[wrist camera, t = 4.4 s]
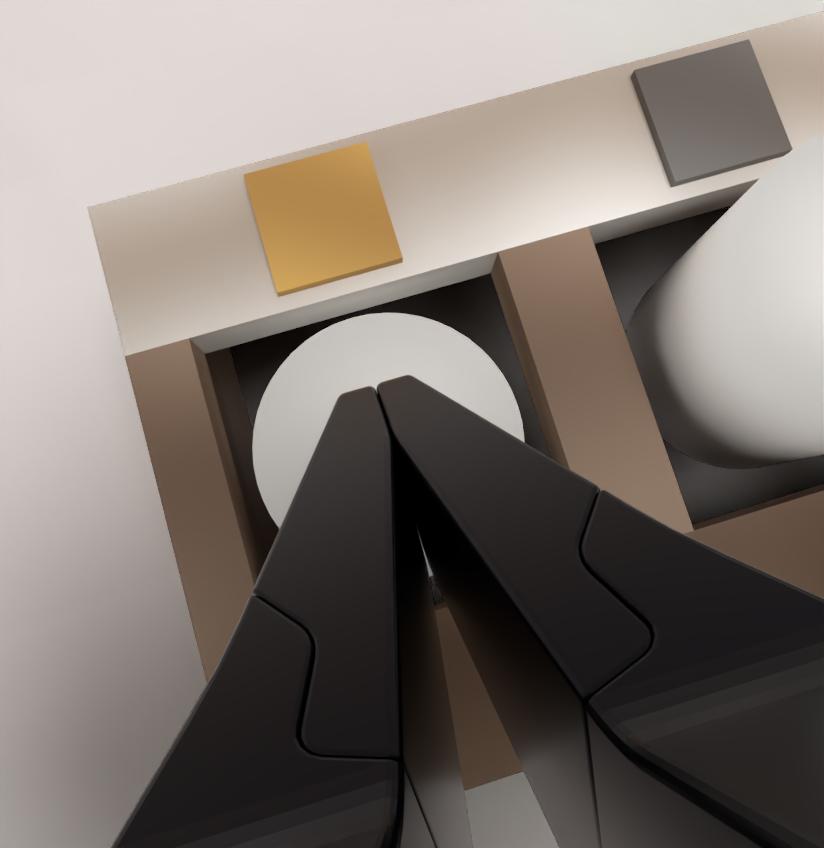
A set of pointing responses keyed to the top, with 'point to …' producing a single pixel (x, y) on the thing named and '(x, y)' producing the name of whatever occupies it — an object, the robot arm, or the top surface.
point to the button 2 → (360, 367)
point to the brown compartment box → (444, 265)
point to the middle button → (744, 327)
